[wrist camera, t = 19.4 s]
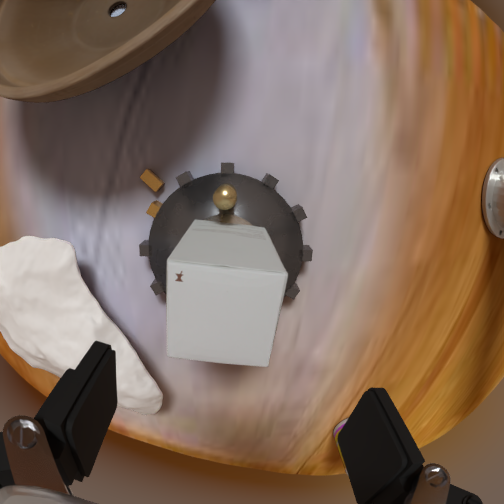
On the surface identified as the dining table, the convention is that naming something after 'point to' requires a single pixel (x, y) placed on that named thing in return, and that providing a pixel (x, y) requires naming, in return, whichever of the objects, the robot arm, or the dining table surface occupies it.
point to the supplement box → (224, 294)
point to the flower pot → (83, 42)
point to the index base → (152, 180)
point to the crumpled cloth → (64, 318)
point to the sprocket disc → (226, 218)
